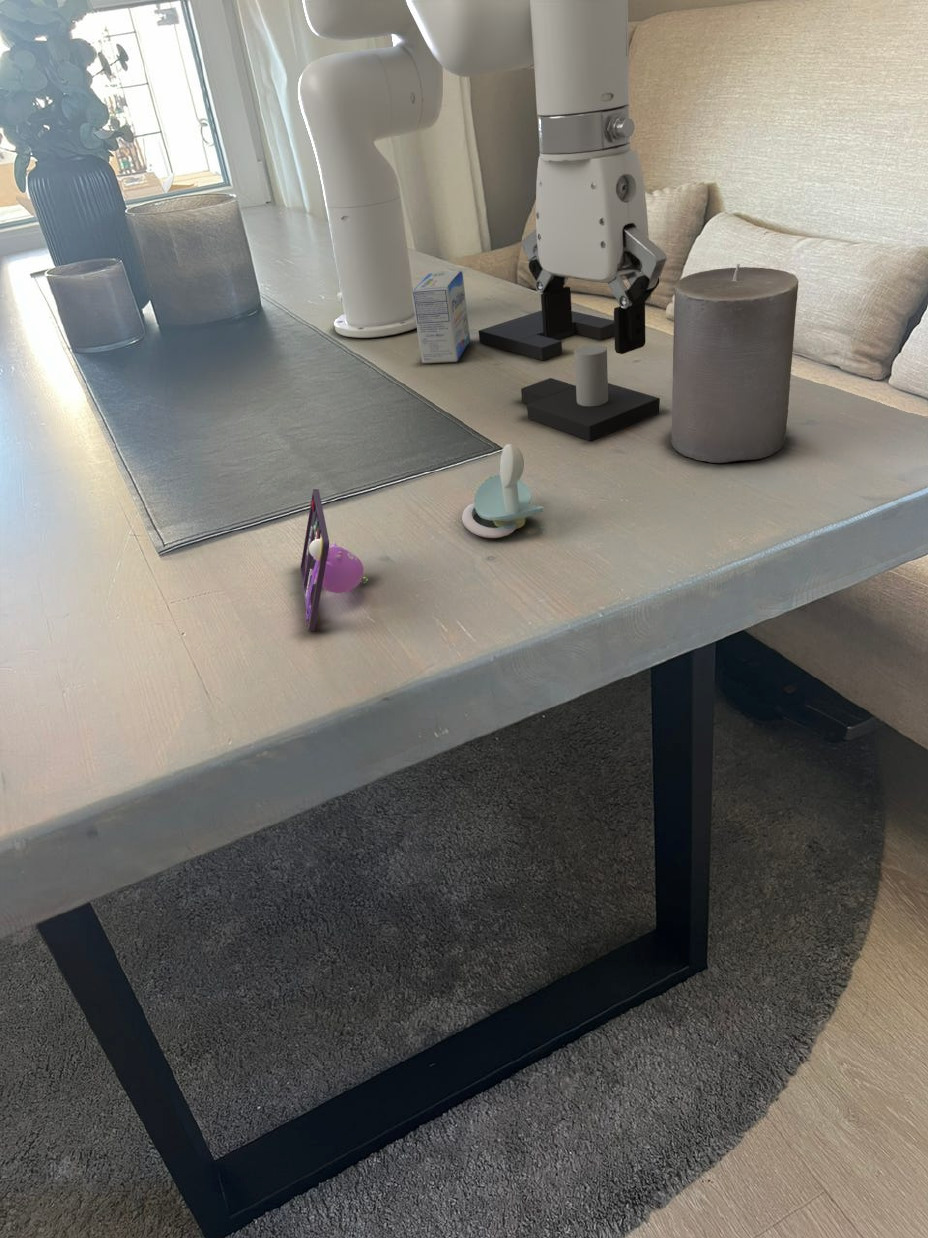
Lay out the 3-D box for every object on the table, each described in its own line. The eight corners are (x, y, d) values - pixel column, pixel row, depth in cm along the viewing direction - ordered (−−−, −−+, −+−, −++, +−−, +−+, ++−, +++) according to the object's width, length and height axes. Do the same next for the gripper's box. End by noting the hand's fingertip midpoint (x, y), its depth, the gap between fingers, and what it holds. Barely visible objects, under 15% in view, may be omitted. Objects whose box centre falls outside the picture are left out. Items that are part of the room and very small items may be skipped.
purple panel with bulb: (303, 486, 67) (312, 541, 60) (374, 495, 69) (391, 550, 61) (290, 568, 71) (297, 630, 63) (358, 575, 72) (373, 637, 65)
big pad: (479, 342, 115) (478, 330, 114) (553, 318, 121) (553, 306, 120) (542, 360, 107) (541, 347, 106) (619, 333, 112) (619, 321, 111)
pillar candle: (710, 414, 88) (717, 246, 80) (807, 434, 82) (824, 255, 74) (648, 449, 83) (648, 273, 75) (746, 474, 77) (758, 285, 68)
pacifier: (476, 551, 71) (551, 533, 72) (465, 476, 67) (544, 457, 68) (454, 512, 77) (523, 495, 78) (442, 441, 73) (515, 424, 74)
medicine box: (457, 363, 109) (449, 286, 105) (420, 364, 110) (410, 289, 106) (470, 342, 116) (463, 269, 111) (436, 343, 117) (427, 271, 112)
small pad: (502, 409, 95) (496, 345, 92) (569, 384, 99) (566, 322, 96) (590, 441, 86) (587, 371, 82) (659, 412, 90) (660, 345, 86)
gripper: (695, 127, 73) (692, 345, 82) (550, 128, 86) (561, 318, 95) (625, 142, 70) (630, 368, 79) (485, 141, 82) (503, 337, 91)
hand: (592, 341), depth 87 cm, fingers open, 9 cm apart
